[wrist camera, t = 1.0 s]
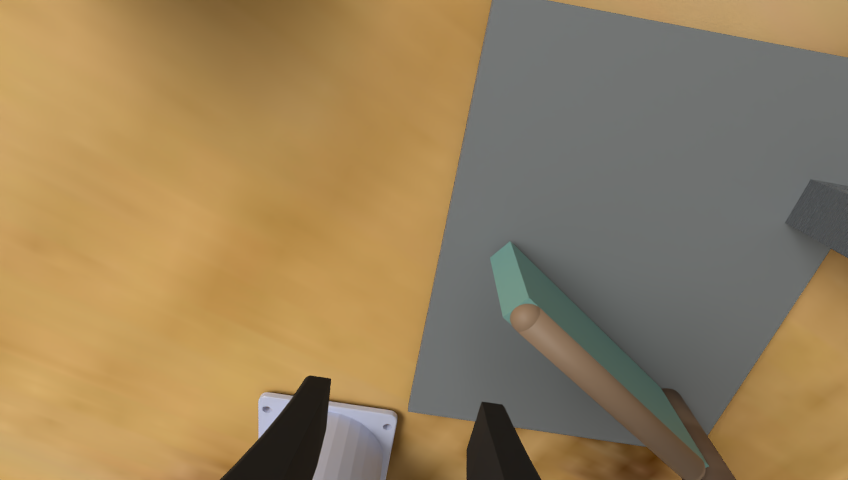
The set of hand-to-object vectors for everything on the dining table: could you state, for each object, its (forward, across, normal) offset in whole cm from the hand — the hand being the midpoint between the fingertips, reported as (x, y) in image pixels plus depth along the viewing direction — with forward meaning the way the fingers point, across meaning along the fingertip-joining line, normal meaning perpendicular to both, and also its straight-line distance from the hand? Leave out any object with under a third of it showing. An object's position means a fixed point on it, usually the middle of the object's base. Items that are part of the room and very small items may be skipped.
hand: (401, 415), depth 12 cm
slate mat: (+9, -10, -1) cm, 13 cm away
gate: (+8, -8, +2) cm, 12 cm away
